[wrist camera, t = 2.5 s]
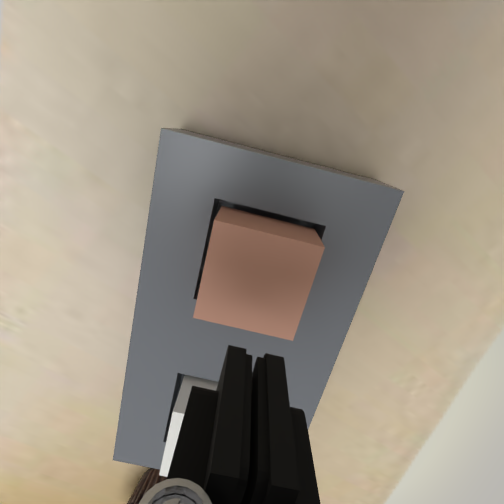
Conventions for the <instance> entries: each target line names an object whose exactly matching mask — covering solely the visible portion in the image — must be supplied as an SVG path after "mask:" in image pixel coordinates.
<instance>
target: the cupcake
mask: <svg viewBox="0 0 504 504" xmlns="http://www.w3.org/2000/svg"><path fill="white" fill-rule="evenodd" d="M159 473H160V470H159V469H154V468H150V469H149V470H148V471H147V472H145V473H144V475H143V476H142V478H141V480H140V481H139V483H138V484H137V486H136V488H135V490H134V492H133V494H132V496H131V498H130V499H129V501H128V503H127V504H139V502H140V501H141V499H142V498H143V496H144V495H145V494H146V492H147V491H148V490H149V489H151V488H152V487H153V486H154V485H155V484H157V483H160V482H162V481H164V480H166V479H167V477H165V476H160V475H159Z"/></svg>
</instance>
